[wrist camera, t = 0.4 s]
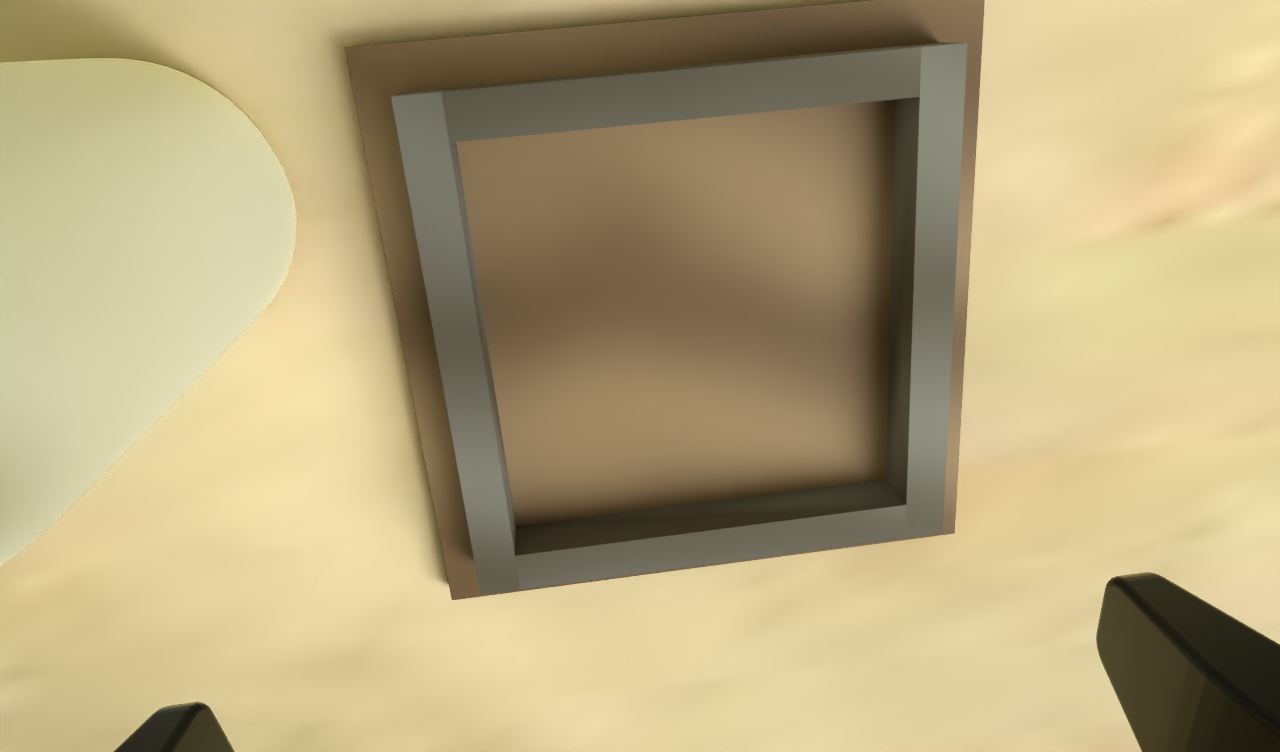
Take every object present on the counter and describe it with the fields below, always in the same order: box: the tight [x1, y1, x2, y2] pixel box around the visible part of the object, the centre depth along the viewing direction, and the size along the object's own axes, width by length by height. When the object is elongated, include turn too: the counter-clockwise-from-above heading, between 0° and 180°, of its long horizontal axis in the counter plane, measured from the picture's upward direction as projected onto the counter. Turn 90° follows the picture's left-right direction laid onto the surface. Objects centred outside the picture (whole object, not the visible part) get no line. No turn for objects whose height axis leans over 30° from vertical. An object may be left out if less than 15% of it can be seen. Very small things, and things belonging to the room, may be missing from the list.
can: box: [0, 58, 296, 566], centre depth 14 cm, size 6×6×12 cm
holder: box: [345, 0, 984, 600], centre depth 21 cm, size 14×14×2 cm
